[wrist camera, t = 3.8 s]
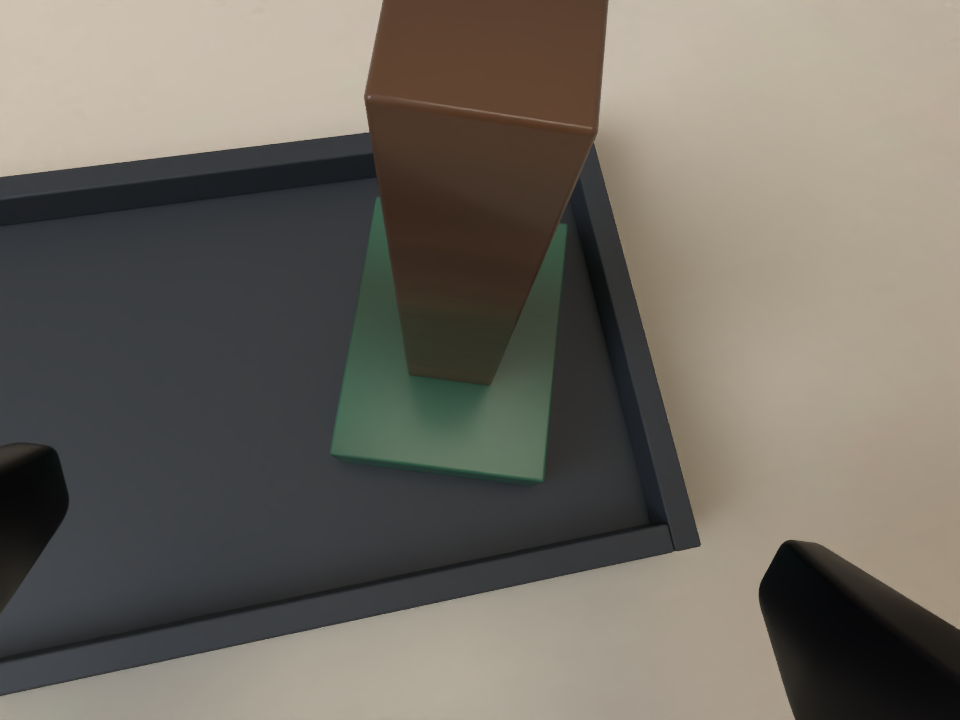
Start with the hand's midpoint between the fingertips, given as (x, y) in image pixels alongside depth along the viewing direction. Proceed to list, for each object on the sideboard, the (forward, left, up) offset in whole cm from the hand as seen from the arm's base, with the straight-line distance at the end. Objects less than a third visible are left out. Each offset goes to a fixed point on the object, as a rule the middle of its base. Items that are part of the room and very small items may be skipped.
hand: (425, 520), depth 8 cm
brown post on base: (+3, -5, -11) cm, 13 cm away
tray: (+7, 0, -12) cm, 14 cm away
